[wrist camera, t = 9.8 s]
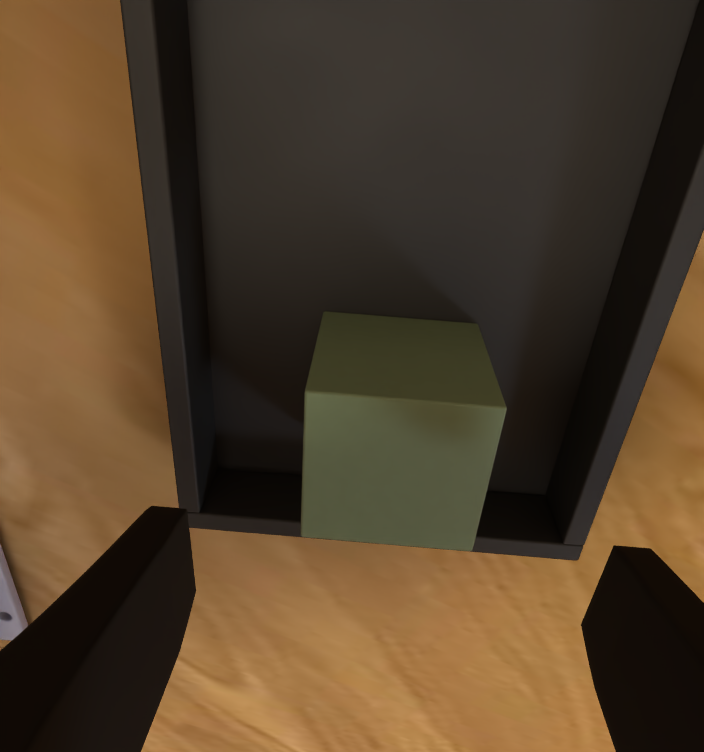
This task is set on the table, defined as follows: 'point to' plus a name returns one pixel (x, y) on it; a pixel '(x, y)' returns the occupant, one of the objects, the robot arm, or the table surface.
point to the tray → (416, 224)
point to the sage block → (398, 431)
